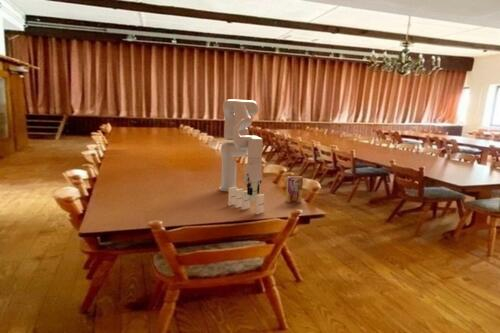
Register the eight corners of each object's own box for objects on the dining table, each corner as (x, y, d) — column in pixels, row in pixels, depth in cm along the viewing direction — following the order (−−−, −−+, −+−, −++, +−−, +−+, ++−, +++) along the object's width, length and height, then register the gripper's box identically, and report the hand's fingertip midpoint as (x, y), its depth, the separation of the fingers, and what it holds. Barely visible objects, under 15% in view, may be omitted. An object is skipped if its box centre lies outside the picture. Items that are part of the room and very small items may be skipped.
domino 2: (234, 207, 192) (235, 189, 191) (240, 205, 196) (241, 188, 194) (236, 207, 191) (237, 190, 189) (242, 206, 195) (243, 188, 193)
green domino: (248, 200, 185) (249, 182, 183) (254, 198, 188) (255, 180, 187) (251, 201, 184) (251, 182, 182) (257, 199, 187) (257, 181, 186)
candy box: (299, 200, 211) (301, 176, 208) (301, 202, 207) (303, 177, 204) (285, 200, 210) (287, 175, 207) (287, 202, 206) (288, 177, 203)
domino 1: (228, 205, 196) (228, 188, 194) (234, 203, 199) (234, 186, 197) (230, 205, 195) (230, 188, 193) (236, 204, 198) (236, 187, 196)
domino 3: (241, 209, 189) (241, 191, 187) (247, 207, 193) (247, 190, 191) (243, 210, 188) (244, 192, 186) (249, 208, 192) (250, 190, 190)
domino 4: (255, 213, 183) (256, 195, 181) (261, 211, 187) (262, 193, 185) (257, 214, 182) (258, 196, 180) (263, 212, 186) (264, 194, 184)
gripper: (259, 158, 191) (257, 190, 194) (238, 161, 178) (237, 195, 181) (269, 159, 186) (268, 192, 189) (249, 163, 173) (248, 198, 177)
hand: (253, 193), depth 185 cm, fingers closed on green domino, 4 cm apart
